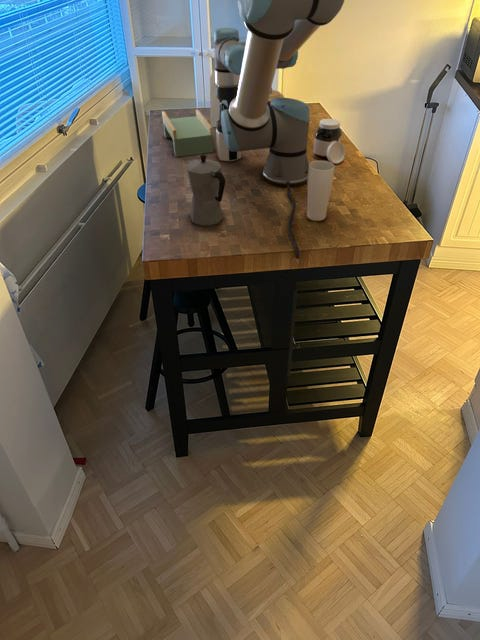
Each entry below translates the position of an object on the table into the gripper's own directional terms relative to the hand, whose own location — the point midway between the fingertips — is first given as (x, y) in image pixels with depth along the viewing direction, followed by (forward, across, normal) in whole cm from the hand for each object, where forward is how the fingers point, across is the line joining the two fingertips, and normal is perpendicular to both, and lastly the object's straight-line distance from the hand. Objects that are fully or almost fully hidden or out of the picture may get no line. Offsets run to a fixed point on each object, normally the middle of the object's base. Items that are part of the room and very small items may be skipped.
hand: (229, 154), depth 166 cm
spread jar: (+1, -12, -33) cm, 35 cm away
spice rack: (+1, +17, +11) cm, 20 cm away
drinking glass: (+1, -50, -11) cm, 51 cm away
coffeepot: (+1, -42, +18) cm, 46 cm away
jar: (+1, 0, 0) cm, 1 cm away
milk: (+1, +34, -10) cm, 35 cm away
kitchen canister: (+1, +16, -20) cm, 26 cm away
